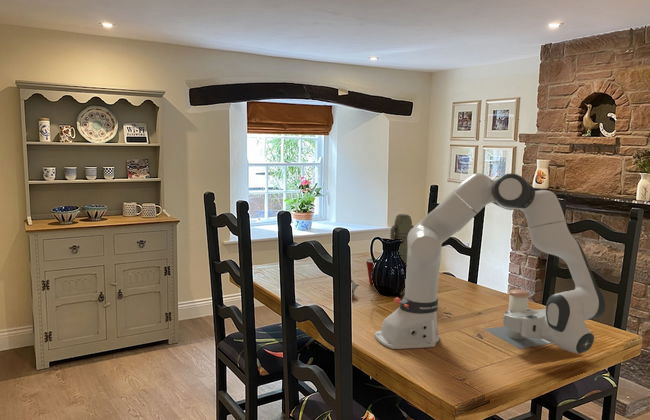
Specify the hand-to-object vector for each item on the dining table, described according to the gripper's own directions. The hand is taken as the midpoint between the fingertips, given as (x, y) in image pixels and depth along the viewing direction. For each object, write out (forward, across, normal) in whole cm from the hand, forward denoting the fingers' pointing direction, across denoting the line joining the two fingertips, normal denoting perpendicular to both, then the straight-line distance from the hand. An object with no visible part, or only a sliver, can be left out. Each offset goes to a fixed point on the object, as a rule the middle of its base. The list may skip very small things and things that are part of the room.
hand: (515, 311), depth 180 cm
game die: (+61, +37, +10) cm, 72 cm away
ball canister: (-1, 0, +9) cm, 9 cm away
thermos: (+59, +12, +10) cm, 61 cm away
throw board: (-1, -8, +10) cm, 13 cm away
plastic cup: (+73, +17, +10) cm, 76 cm away
